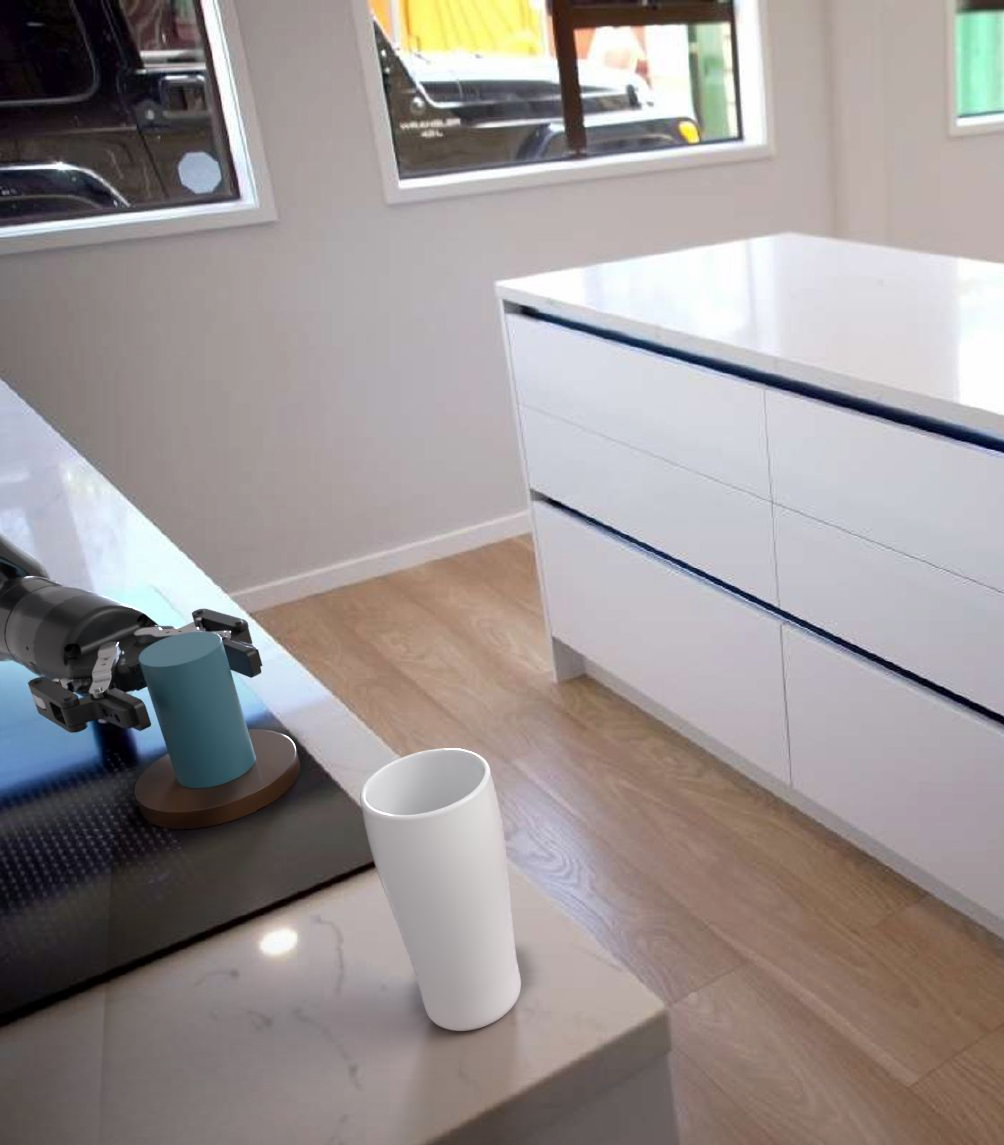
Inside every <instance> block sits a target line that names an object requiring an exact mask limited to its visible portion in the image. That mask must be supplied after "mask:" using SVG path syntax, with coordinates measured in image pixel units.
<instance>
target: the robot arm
mask: <svg viewBox="0 0 1004 1145" xmlns="http://www.w3.org/2000/svg"><path fill="white" fill-rule="evenodd" d="M191 617H192V620H193V621H192V622H190V623H188V624H186V625H183V626H181V627H177V626H175V625H161V624H158V623H157V622H156V621H155V620H154V619H153V618H151V617H150V615H148V614H147V613H146V612H144V611H143V610H141V609H139V608H137V607H134V606H133V605H130V604H126V603H124V602H121V601H118V600H116V599H113V598H111V597H107V596H105V595H102V594H100V593H97V592H94V591H91V590H88V589H85V588H79V587H74V586H73V587H72V586H69V585H66V584H63V583H62V582H61V583H60V582H58V581H55V580H53V579H52V577H51V574H50V572H49V571H48V569H47V567H46V566H45V565H44V564H43V563H42V562H41V561H40V560H39V559H38V558H37V557H35V555H33V554H32V553H31V552H29V551H28V550H26V549H24V548H23V547H22V546H20V545H19V544H18V543H15V542H14V541H13V540H12V539H10V538H9V537H7V536H6V535H5V534H4V533H2V532H1V531H0V662H14V663H16V664H19V665H20V666H23V667H24V668H26V669H27V670H28V671H30V672H31V673H32V674H34V675H35V676H37V677H34V678H32V679H31V680H29V681H28V682H27V685H28V688H29V690H30V693H31V696H32V699H33V702H34V704H35V707H36V710H37V713H38V714H39V715H40V716H42V717H44V718H46V719H47V720H49V721H50V722H52V723H54V724H55V725H56V726H58V727H60V728H62V729H63V730H65V731H67V732H68V733H70V734H75V733H80V732H82V731H85V730H86V729H87V728H88V726H89V725H88V723H90V722H93V721H98V723H100V724H108V723H110V724H113V725H115V726H117V727H119V728H121V729H126V730H131V729H134V730H136V731H138V732H141V731H144V730H147V729H149V728H151V726H152V722H151V718H150V716H149V713H148V709H147V706H146V704H145V702H144V701H143V700H142V699H141V698H139V697H136V696H134V695H132V694H133V692H135V691H137V692H139V691H142V690H143V689H146V688H147V685H146V682H145V679H144V676H143V673H142V670H141V666H140V663H139V660H138V658H139V655H140V653H141V652H142V651H143V650H144V649H146V648H147V647H148V646H150V645H152V644H154V643H155V642H158V641H160V640H162V639H165V638H168V637H171V636H174V635H178V634H183V633H188V632H198V631H205V632H213V633H216V634H218V635H219V636H220V637H221V639H222V642H223V646H224V649H225V652H226V656H227V659H228V663H229V666H230V670H231V672H235V673H237V674H240V675H242V676H246V677H248V678H251V679H252V678H254V677H256V676H258V675H260V674H262V668H261V667H263V663H262V659H261V654H260V651H259V648H258V647H257V646H255V644H254V642H253V640H252V636H251V632H250V629H249V628H250V626H249V622H248V620H247V619H244V618H241V617H238V616H235V615H230V614H226V613H223V612H220V611H216V610H212V609H209V608H198V609H195V610H193V611H192V612H191ZM78 695H79V696H80V697H78Z"/></svg>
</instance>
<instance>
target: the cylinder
mask: <svg viewBox="0 0 1004 1145" xmlns="http://www.w3.org/2000/svg"><path fill="white" fill-rule="evenodd" d="M138 660H139V663H140V666H141V670H142V673H143V676H144V679H145V682H146V685H147V687H146V688H147V691H148V694H149V697H150V700H151V704H152V706H153V709H154V713H155V716H156V719H157V722H158V725H159V728H160V731H161V735H162V738H163V741H164V745H165V747H166V750H167V754H168V753H169V757H170V760H171V763H172V766H173V769H174V772H175V775H176V778H177V781H178V782H179V783H180V784H181V785H182V786H185V787H188V788H208V787H213V786H217V785H221V784H224V783H227V782H229V781H232V780H234V779H236V778H238V777H240V776H241V775H243V774H244V773H246V772H247V771H248V770H249V769H250V768H251V767H252V766H253V765H254V763H255V760H256V756H255V753H254V749H253V746H252V742H251V739H250V735H249V732H248V730H249V729H248V725H247V721H246V718H245V716H244V712H243V708H242V704H241V702H240V698H239V695H238V691H237V687H236V684H235V681H234V677H233V674H232V670H230V666H229V663H228V659H227V656H226V652H225V649H224V646H223V642H222V639H221V637H220V636H219V635H218V634H216V633H213V632H205V631H198V632H188V633H183V634H178V635H174V636H171V637H168V638H165V639H162V640H160V641H158V642H155V643H154V644H152V645H150V646H148V647H147V648H146V649H144V650H143V651H142V652H141V653H140V655H139V658H138Z"/></svg>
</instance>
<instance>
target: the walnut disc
mask: <svg viewBox="0 0 1004 1145" xmlns="http://www.w3.org/2000/svg"><path fill="white" fill-rule="evenodd" d="M248 732H249V735H250V739H251V742H252V746H253V749H254V753H255V756H256V760H255V763H254V765H253V766H252V767H251V768H250V769H249V770H248V771H247V772H246V773H244V774H243V775H241V776H240V777H238V778H236V779H234V780H232V781H229V782H227V783H224V784H221V785H217V786H213V787H208V788H188V787H185V786H182V785H181V784H180V783H179V782H178V781H177V778H176V775H175V772H174V769H173V766H172V763H171V760H170V757H169V753H168V752H167V754H165V755H164V756H162V757H160V758H159V759H158V760H156V761H155V762H153V763H152V764H151V765H150V766H149V767H147V768H146V769H145V771H143V773H141V775H140V776H139V778H138V779H137V782H136V784H135V787H134V796H135V799H136V801H137V805H138V807H139V811H140V813H141V815H142V817H143V818H144V819H145V820H146V821H147V822H148V823H150V824H153V825H154V826H157V827H160V828H164V829H171V830H194V829H201V828H209V827H213V826H218V825H222V824H225V823H229V822H233V821H235V820H238V819H241V818H243V817H246V816H249V815H251V814H254V813H256V812H257V810H258V809H259V810H261V809H263V808H264V807H263V806H265V807H268V806H269V805H270V804H272V803H273V802H275V801H277V800H278V799H279V798H281V797H282V796H283V795H284V794H286V792H288V791H289V790H290V789H291V787H292V786H293V785H294V784H295V783H296V781H297V780H298V778H299V776H300V773H301V761H300V758H299V755H298V754H299V753H298V750H297V748H296V744H295V743H294V741H293V740H292V739H291V738H290V737H289V736H287V735H285V734H283V733H280V732H277V731H273V730H267V729H266V730H265V729H248ZM262 807H263V808H262ZM260 808H261V809H260ZM259 810H258V811H259Z"/></svg>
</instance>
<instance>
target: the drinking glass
mask: <svg viewBox="0 0 1004 1145" xmlns="http://www.w3.org/2000/svg"><path fill="white" fill-rule="evenodd" d="M359 793H360V794H359V801H360V806H361V812H362V817H363V818H362V819H363V823H364V828H365V832H366V838H367V841H368V845H369V850H370V853H371V857H372V859H373V864H374V866H375V869H376V873H377V875H378V879H379V881H380V884H381V887H382V889H383V892H384V894H385V897H386V899H387V902H388V905H389V907H390V910H391V911H390V912H391V913H392V916H393V919H394V921H395V923H396V926H397V929H398V931H399V934H400V937H401V940H402V943H403V945H404V948H405V952H406V953H407V956H408V959H409V961H410V965H411V967H412V970H413V973H414V975H415V978H416V981H417V984H418V987H419V991H420V995H421V998H422V1002H423V1006H424V1009H425V1012H426V1014H427V1017H428V1018H429V1019H430V1020H431V1021H432V1022H433V1023H434V1024H435V1025H436V1026H438V1027H440V1028H441V1029H442V1028H443V1029H445V1030H449V1031H454V1032H455V1031H456V1032H465V1031H466V1032H468V1031H474V1030H477V1029H481V1028H484V1027H486V1026H489V1025H491V1024H493V1023H495V1022H497V1021H498V1020H500V1019H501V1018H503V1017H504V1016H505V1015H506V1014H507V1013H509V1011H511V1009H512V1008H513V1007H514V1006H515V1004H516V1003H517V1001H518V998H519V997H520V994H521V989H522V988H521V987H522V979H521V974H520V969H519V963H518V959H517V951H516V950H517V949H516V941H515V932H514V920H513V912H512V911H513V910H512V901H511V891H510V881H509V869H508V858H507V849H506V847H507V846H506V839H505V832H504V824H503V819H502V814H501V808H500V804H499V799H498V795H497V794H498V793H497V791H496V787H495V783H494V779H493V776H492V771H491V768H490V765H489V763H488V761H487V760H486V759H485V758H483V757H482V756H481V755H479V754H478V753H475V752H473V751H470V750H467V749H461V748H435V749H434V748H433V749H427V750H422V751H418V752H414V753H411V754H408V755H405V756H401V757H399V758H397V759H395V760H393V761H391V762H388V763H387V764H386V765H384V766H382V767H381V768H379V769H377V771H375V772H374V773H373V774H372V775H371V776H369V778H368V779H367V780H366V781H365V782H364V784H363V785H362V788H361V790H360V792H359Z"/></svg>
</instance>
